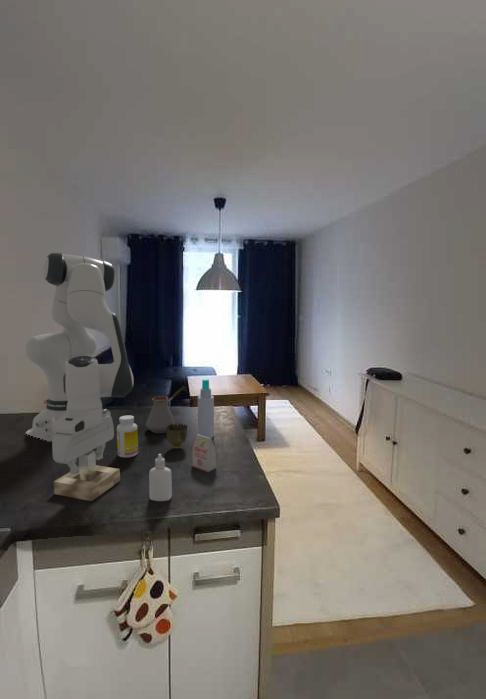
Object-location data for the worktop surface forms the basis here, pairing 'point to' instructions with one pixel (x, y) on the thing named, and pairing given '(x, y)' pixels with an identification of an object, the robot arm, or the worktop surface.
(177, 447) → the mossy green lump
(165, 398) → the coffee pot
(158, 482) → the eye dropper bottle
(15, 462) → the worktop surface
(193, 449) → the white and red box
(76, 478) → the tan square ring
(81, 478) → the metal peg
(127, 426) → the supplement bottle
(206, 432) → the spray bottle
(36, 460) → the worktop surface
